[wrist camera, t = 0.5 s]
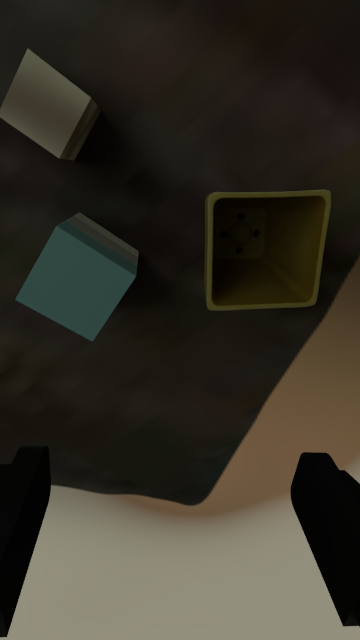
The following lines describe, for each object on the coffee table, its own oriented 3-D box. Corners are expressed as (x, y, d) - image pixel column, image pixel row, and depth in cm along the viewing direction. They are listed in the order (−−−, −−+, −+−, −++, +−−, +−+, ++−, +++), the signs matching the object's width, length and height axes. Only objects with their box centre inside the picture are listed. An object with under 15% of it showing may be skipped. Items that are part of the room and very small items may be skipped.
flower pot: (193, 279, 35) (206, 312, 27) (192, 187, 31) (208, 192, 23) (277, 275, 35) (316, 307, 27) (286, 184, 32) (334, 189, 24)
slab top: (65, 220, 26) (56, 225, 24) (137, 266, 28) (136, 276, 25) (27, 287, 28) (15, 299, 25) (97, 326, 30) (92, 341, 27)
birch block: (50, 71, 27) (27, 48, 22) (101, 110, 29) (91, 97, 24) (24, 125, 28) (-3, 115, 23) (74, 160, 30) (59, 158, 25)
